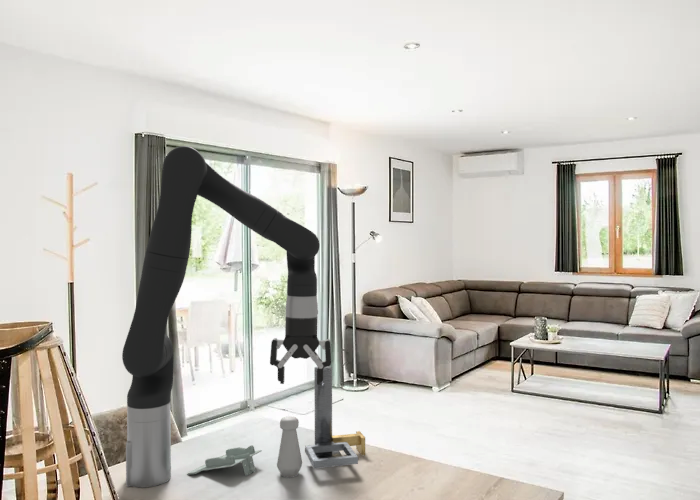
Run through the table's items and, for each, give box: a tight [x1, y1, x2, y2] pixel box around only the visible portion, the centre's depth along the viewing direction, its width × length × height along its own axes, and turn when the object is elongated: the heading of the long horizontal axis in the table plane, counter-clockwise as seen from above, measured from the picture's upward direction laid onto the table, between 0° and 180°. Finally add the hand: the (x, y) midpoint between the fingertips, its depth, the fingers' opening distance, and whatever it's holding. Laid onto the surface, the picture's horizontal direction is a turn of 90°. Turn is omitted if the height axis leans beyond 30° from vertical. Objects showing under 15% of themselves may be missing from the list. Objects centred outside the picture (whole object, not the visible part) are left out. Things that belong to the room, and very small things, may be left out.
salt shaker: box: [276, 415, 303, 479], centre depth 133 cm, size 6×6×13 cm
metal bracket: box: [186, 445, 263, 477], centre depth 137 cm, size 14×6×15 cm
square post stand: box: [304, 365, 366, 469], centre depth 141 cm, size 15×18×22 cm
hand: (300, 383), depth 136 cm, fingers open, 8 cm apart
